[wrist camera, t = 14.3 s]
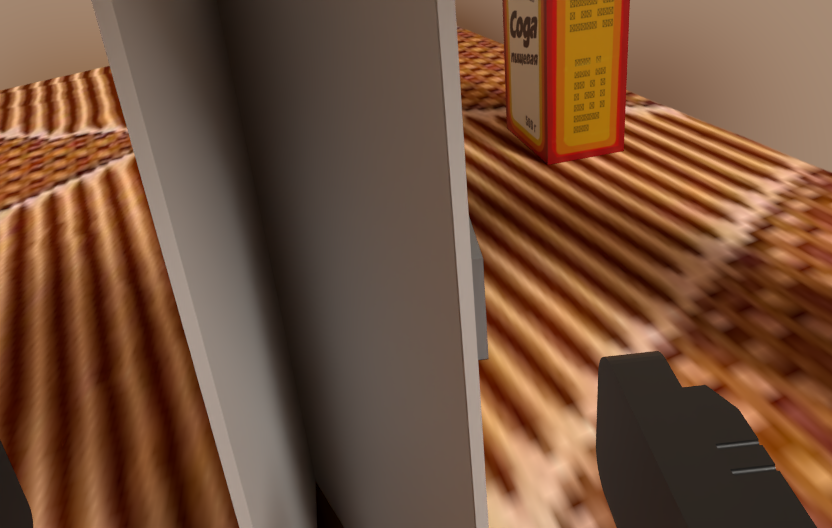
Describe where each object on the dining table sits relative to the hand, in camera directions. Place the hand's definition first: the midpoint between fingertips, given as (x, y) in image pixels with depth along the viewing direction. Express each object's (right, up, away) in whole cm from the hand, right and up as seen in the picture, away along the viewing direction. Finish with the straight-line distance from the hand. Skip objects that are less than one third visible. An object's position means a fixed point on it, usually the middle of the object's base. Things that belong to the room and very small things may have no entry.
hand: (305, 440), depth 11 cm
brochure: (0, -10, +19) cm, 21 cm away
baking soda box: (+14, +13, +57) cm, 60 cm away
